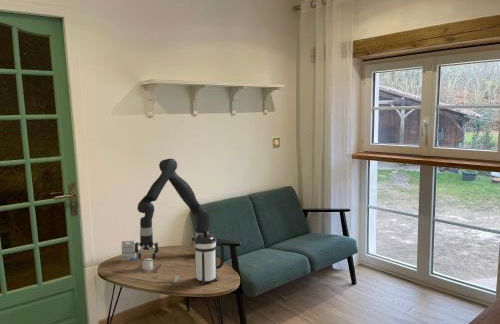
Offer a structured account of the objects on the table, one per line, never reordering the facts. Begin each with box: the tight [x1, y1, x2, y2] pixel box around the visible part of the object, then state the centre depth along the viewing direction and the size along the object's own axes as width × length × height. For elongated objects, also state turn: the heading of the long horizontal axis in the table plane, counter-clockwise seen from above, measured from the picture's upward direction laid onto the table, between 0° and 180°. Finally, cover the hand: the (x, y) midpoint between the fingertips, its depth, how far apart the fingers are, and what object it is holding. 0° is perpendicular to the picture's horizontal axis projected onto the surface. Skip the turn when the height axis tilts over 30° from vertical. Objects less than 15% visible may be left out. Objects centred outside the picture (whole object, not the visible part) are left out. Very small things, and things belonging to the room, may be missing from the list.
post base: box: [133, 263, 162, 274], centre depth 234 cm, size 14×14×6 cm
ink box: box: [121, 240, 137, 262], centre depth 250 cm, size 8×5×15 cm, turn 96°
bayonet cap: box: [142, 257, 154, 271], centre depth 234 cm, size 6×6×6 cm
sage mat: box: [154, 274, 180, 284], centre depth 221 cm, size 12×10×1 cm
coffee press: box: [193, 231, 225, 286], centre depth 220 cm, size 17×16×30 cm
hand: (146, 258), depth 233 cm, fingers open, 8 cm apart
